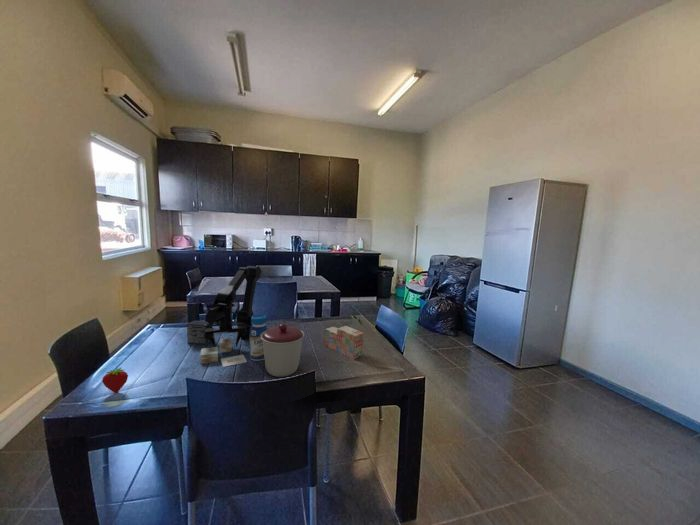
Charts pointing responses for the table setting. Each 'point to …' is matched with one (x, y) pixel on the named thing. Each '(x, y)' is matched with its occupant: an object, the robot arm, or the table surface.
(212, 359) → the tower base
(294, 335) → the canister
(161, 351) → the table surface
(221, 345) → the beige cube
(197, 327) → the small box
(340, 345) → the stack of blocks
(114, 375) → the strawberry
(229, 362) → the page
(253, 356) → the beverage bottle
